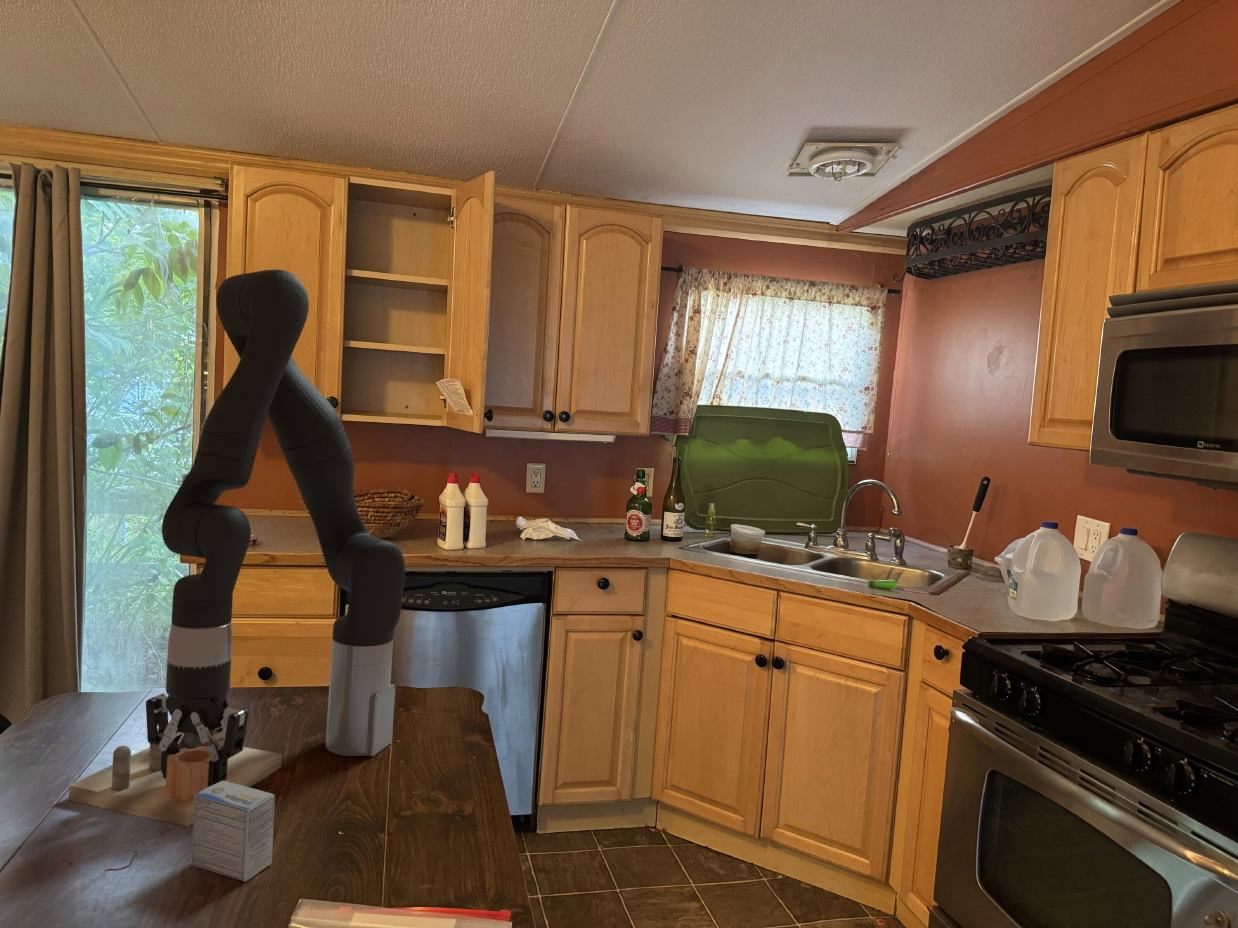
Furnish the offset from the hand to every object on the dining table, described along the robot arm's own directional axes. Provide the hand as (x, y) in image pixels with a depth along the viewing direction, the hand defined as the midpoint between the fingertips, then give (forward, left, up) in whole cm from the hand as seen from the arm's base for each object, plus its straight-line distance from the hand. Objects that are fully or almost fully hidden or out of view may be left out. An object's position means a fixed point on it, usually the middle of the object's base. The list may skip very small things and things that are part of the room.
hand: (193, 780), depth 112 cm
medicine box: (-14, +10, -3) cm, 18 cm away
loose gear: (0, 0, -1) cm, 1 cm away
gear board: (+5, -5, -3) cm, 8 cm away
